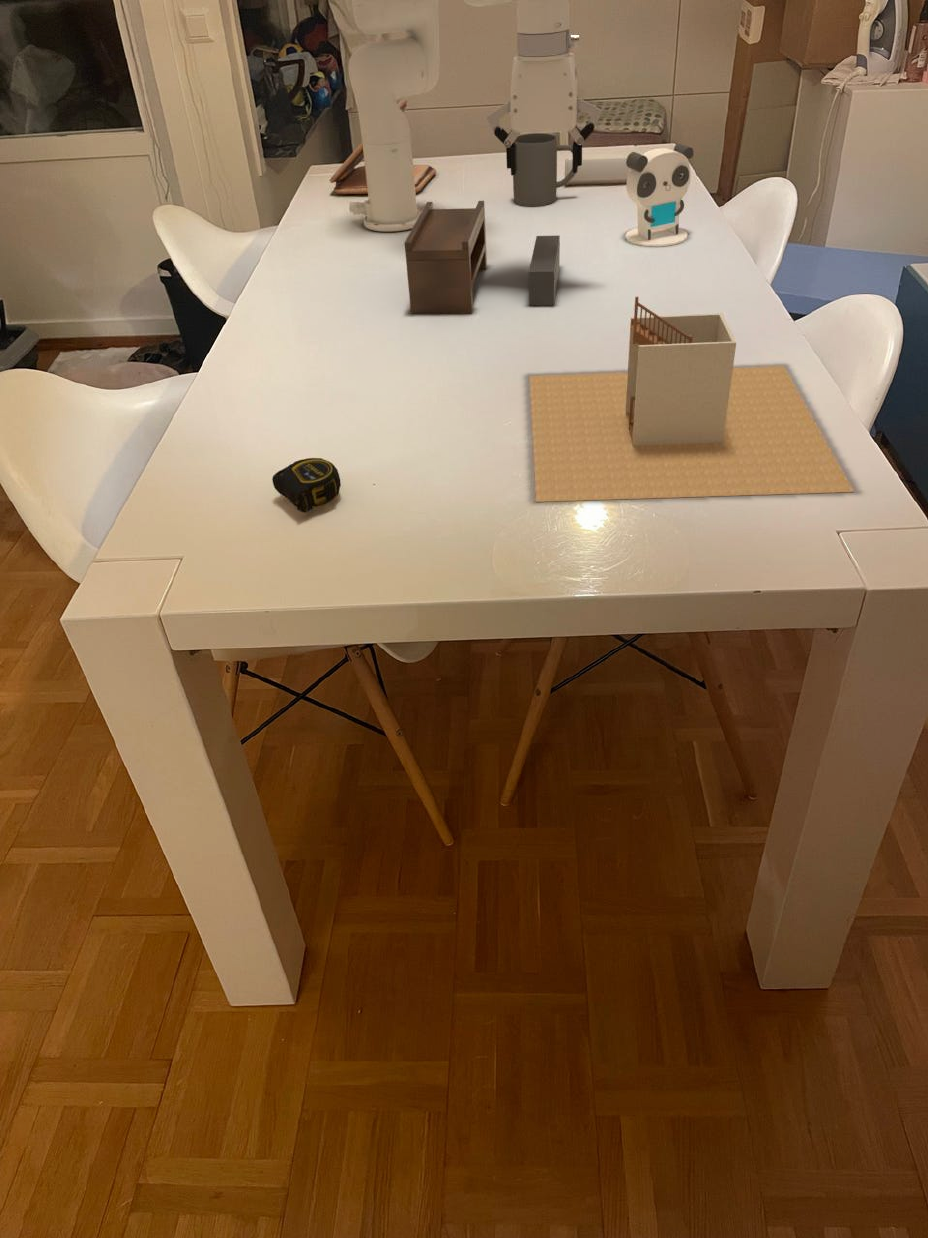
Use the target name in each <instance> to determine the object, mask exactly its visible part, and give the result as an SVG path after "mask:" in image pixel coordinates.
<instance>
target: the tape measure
mask: <svg viewBox="0 0 928 1238" xmlns="http://www.w3.org/2000/svg"><path fill="white" fill-rule="evenodd" d="M339 473H340V472H339V470H338V468H337V467H336V466H335V465H334V464H333V463H332V462H331V461H329V460H327V459H323V458H320V457H308V458H303V459H299V460H296V461H294V462H293V463H291V464H289V465H288V466H286V467H284V468H283V469H281V470H278V471H277V472H275V474H273V475H272V478H271V480H272V481H271V482H272V486H273V488H274V489H275V491H277V493H278V494H280V495H281V496H283V497H284V498H286V499H287V500H288V501H289V502H290V503H291V504H292V505H293V506H294V507H295V508H296V509H297V511H300V512H301V513H307V512H310V511H311V510H313V509H314V508H315V507H321V506H324V505H327V504H329V503H330V502H332V501H333V500H334V499H335V498H336V497H337V496H338V495H339V493H340V490H341V486H342V484H341V478H340V477H341V476H340V474H339Z"/></svg>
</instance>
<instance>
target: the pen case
mask: <svg viewBox="0 0 928 1238" xmlns="http://www.w3.org/2000/svg"><path fill="white" fill-rule="evenodd" d="M560 241H561V235H536V237H535V241H534V246H533V251H532V255H531V259H530V260H531V261H530V264H529V265H530V266H529V269H528V306H529V307H538V306H539V307H543V306H545V307H548V306H551V307H552V306H555V301H556V294H557V287H558V281H559V274H560V261H561V259H560V251H561V250H560V249H561V248H560V247H561V246H560V245H561V243H560Z"/></svg>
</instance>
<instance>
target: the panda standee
mask: <svg viewBox="0 0 928 1238" xmlns="http://www.w3.org/2000/svg"><path fill="white" fill-rule="evenodd" d="M626 158H627V160H626V165H627V167H629V168H631V170H630V173H629V175H628V179H627V183H626V193H627V195H628V197H629V199H630V200H631V201H632V202H633V203H634V204H635V205H636V207H637V209H636V211H637V212H636V213H637V227H634V228H632V229H630V230H628V231H627V232H626V233H625V239H626V241H628V242H629V243H631V244H632V245H633V244H634V245H637V246H643V247H655V248H656V247H657V248H658V247H669V246H674V245H678V244H680V243H683V242H685V241H686V240H687V239H688V232H687V231H686V230H684V229H682V228H681V227H679V225H680V214H681V213H682V212H683V210H684V209H685V202H684V200H683V198H684V197H685V195H686V194H687V192H688V189H689V188H690V184H691V177H692V176H691V173H692V172H691V166H690V161H689V160H690V159H692V158H694V148H693V147H690V146H687V145H685V144H683V143H677V144H675V145H674V147H673V149H670V148H667V147H661V148H659V147H658V148H654V149H651V150H647V151H646V152H644V153H642V154H641V153H638V152H636V151H632V152H630V153H629V154H628V156H627V157H626Z"/></svg>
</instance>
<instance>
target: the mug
mask: <svg viewBox="0 0 928 1238" xmlns="http://www.w3.org/2000/svg"><path fill="white" fill-rule="evenodd" d="M515 145H516V147H517V172H516V174H515V175H512V187H513V200H514V203H515V204H517V205H519V206H524V207H541V206H542V207H543V206H547V205H551V204H552V203H554V202H556V200H557V189H559V188H561V187H564V186H565V184H567V183H568V182H569V181H570V180H571V179H572V178H573V176H574V175H575V174H576V173H574V172H572V170H571V171H570V173H569V174H568V175H567V176H566V177H565V176H564V178H563V179H561V180H559V181H558V152H568V151H569V152H570V153H571V154H572V155H573V145H570V144H558V140H557V136H556V135H554V134H552V133H531V134H519V135H518V137H517V138H516V139H515Z"/></svg>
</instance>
